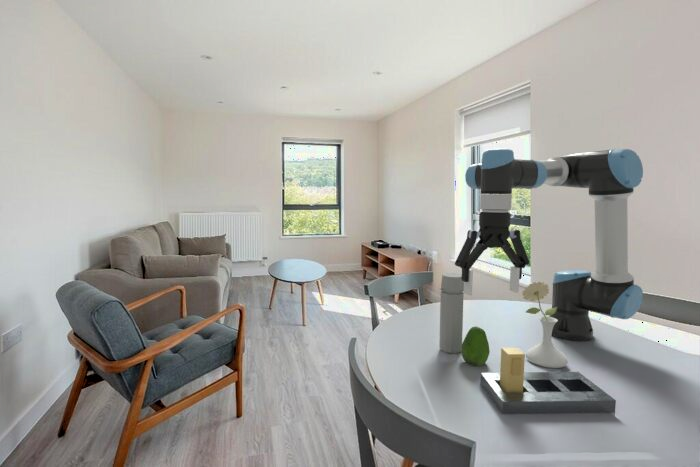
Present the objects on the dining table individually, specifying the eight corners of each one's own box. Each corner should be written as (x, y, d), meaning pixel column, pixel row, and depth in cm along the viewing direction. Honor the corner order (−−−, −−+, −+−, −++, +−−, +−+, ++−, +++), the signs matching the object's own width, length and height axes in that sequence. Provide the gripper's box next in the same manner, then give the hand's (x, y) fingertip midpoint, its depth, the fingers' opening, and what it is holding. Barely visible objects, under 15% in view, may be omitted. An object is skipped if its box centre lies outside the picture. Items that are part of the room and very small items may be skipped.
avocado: (485, 373, 109) (486, 333, 107) (457, 367, 113) (459, 327, 112) (491, 363, 115) (493, 324, 114) (465, 357, 120) (466, 320, 118)
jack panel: (577, 386, 102) (578, 371, 101) (614, 416, 88) (615, 400, 87) (480, 387, 101) (480, 372, 101) (502, 418, 87) (502, 401, 87)
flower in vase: (563, 358, 119) (568, 279, 116) (571, 374, 108) (576, 288, 105) (517, 352, 123) (521, 276, 120) (521, 368, 112) (524, 284, 110)
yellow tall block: (515, 393, 96) (517, 347, 95) (523, 403, 92) (526, 355, 90) (499, 393, 96) (501, 347, 95) (507, 403, 92) (509, 355, 90)
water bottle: (464, 355, 121) (466, 278, 118) (438, 353, 122) (440, 277, 120) (461, 344, 130) (463, 272, 127) (437, 342, 131) (439, 271, 129)
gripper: (527, 210, 104) (523, 286, 106) (443, 210, 98) (440, 291, 100) (547, 211, 97) (542, 293, 99) (458, 212, 91) (455, 299, 93)
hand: (491, 292), depth 100 cm, fingers open, 13 cm apart
